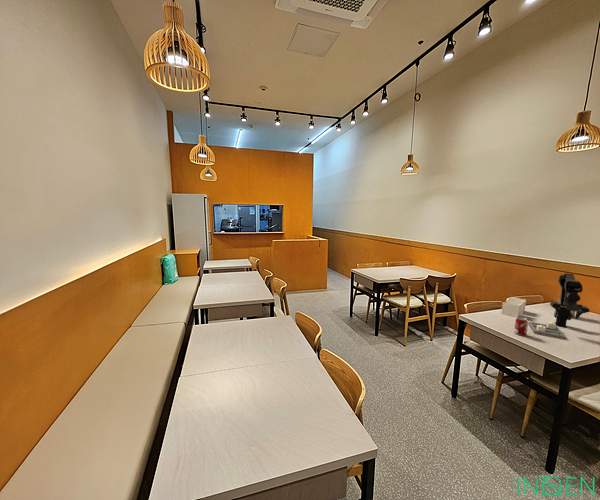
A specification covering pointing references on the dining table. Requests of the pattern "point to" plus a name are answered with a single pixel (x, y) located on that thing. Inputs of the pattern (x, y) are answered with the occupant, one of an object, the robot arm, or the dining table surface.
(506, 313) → the storage container
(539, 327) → the tab
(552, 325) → the tab
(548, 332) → the gray shelf unit
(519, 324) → the soda can
